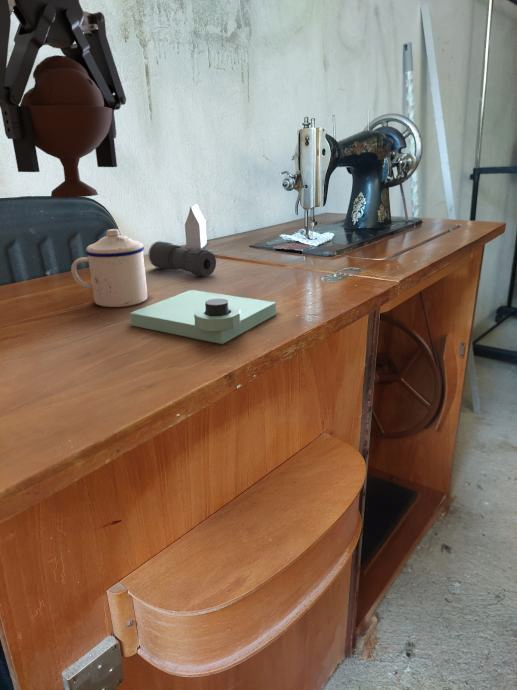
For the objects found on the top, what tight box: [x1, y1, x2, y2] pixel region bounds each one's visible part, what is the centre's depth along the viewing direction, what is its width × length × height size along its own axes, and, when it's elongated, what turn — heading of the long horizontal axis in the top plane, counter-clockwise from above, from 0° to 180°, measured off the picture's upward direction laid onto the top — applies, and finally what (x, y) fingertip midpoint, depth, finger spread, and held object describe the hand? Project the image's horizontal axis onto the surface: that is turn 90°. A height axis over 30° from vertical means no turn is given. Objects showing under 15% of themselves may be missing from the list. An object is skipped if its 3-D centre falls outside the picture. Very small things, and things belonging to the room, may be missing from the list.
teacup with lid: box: [70, 228, 148, 308], centre depth 84 cm, size 12×9×12 cm
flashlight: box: [147, 240, 217, 278], centre depth 104 cm, size 15×5×5 cm, turn 48°
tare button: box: [205, 299, 229, 316], centre depth 67 cm, size 3×3×2 cm
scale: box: [129, 289, 277, 345], centre depth 74 cm, size 17×15×4 cm
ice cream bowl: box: [19, 54, 112, 199], centre depth 59 cm, size 11×11×15 cm
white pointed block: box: [184, 203, 208, 250], centre depth 130 cm, size 4×7×10 cm, turn 174°
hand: (71, 169), depth 61 cm, fingers closed on ice cream bowl, 11 cm apart
